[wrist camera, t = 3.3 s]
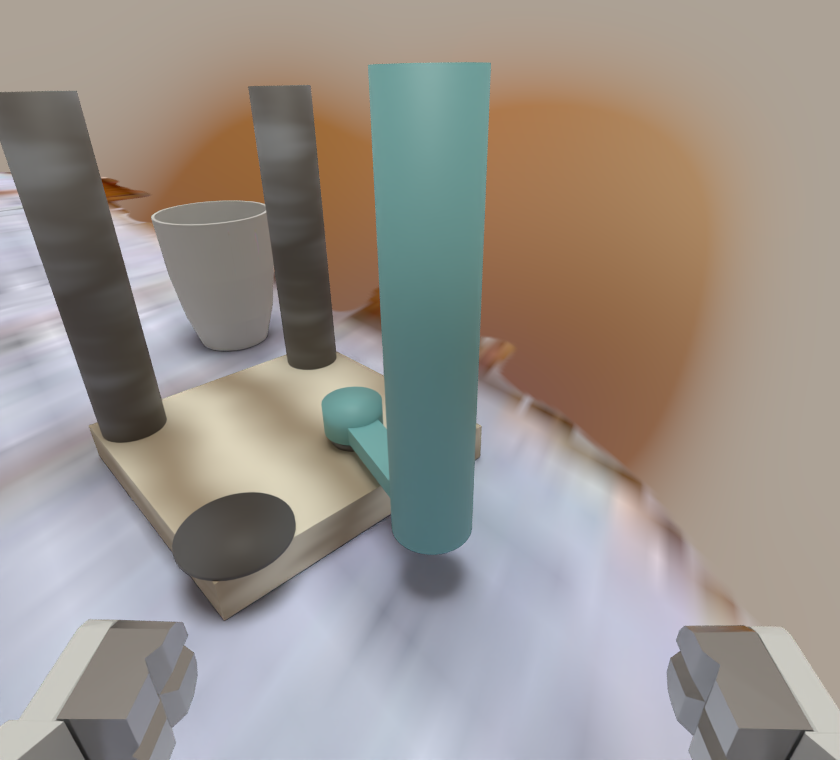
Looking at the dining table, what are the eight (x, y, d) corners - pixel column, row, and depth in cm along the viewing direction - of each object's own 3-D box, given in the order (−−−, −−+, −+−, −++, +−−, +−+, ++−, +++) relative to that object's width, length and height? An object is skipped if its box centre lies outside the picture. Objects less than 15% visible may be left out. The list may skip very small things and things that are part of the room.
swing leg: (314, 422, 29) (270, 70, 21) (370, 406, 30) (348, 70, 23) (415, 566, 20) (403, 62, 13) (487, 535, 22) (516, 62, 14)
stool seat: (216, 640, 21) (59, 99, 12) (87, 460, 31) (-49, 93, 22) (488, 461, 30) (509, 84, 21) (322, 367, 40) (290, 85, 31)
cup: (278, 313, 50) (261, 197, 45) (294, 349, 43) (276, 217, 38) (181, 327, 47) (153, 205, 42) (182, 367, 40) (148, 229, 36)
